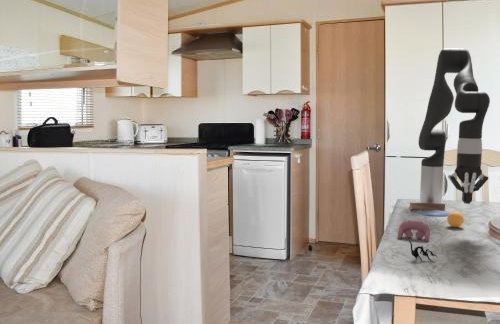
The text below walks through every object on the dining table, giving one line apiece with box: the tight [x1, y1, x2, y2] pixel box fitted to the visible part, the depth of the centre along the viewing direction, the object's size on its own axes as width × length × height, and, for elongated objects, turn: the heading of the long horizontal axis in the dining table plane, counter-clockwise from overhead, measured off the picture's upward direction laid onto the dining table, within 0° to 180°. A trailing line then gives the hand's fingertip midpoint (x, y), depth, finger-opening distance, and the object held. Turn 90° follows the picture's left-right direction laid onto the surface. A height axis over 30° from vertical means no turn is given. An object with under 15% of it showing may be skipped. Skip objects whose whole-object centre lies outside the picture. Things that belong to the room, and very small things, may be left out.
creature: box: [408, 240, 439, 264], centre depth 138 cm, size 8×5×8 cm
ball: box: [446, 211, 465, 228], centre depth 178 cm, size 6×6×6 cm
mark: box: [415, 209, 451, 217], centre depth 203 cm, size 13×13×1 cm
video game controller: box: [397, 219, 431, 242], centre depth 162 cm, size 10×5×7 cm, turn 65°
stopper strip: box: [409, 202, 446, 211], centre depth 211 cm, size 2×14×2 cm, turn 87°
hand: (466, 203), depth 168 cm, fingers closed
